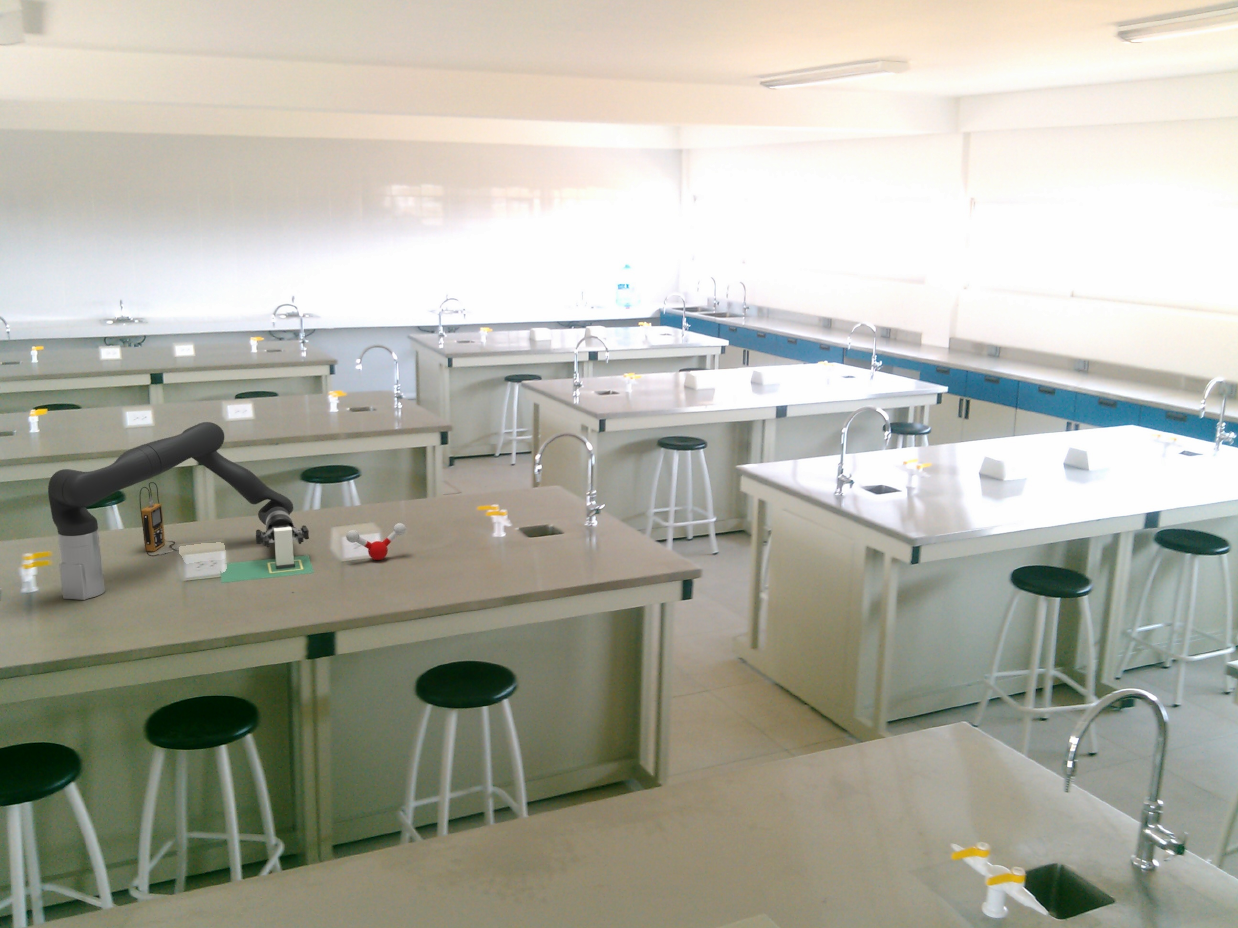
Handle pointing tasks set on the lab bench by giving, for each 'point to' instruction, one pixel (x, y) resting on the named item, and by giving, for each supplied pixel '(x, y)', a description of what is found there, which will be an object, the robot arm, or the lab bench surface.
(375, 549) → the molecular model
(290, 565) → the pin header
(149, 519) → the multimeter
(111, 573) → the lab bench surface
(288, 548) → the plug
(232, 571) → the circuit board
